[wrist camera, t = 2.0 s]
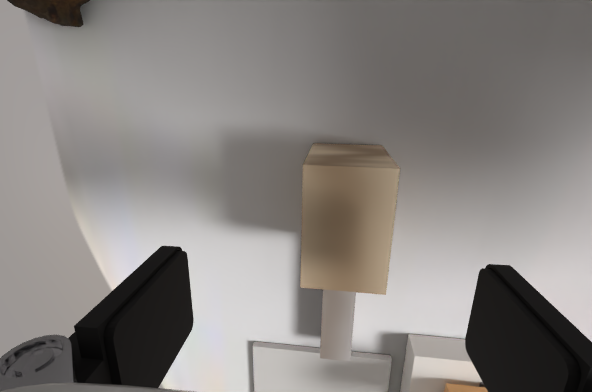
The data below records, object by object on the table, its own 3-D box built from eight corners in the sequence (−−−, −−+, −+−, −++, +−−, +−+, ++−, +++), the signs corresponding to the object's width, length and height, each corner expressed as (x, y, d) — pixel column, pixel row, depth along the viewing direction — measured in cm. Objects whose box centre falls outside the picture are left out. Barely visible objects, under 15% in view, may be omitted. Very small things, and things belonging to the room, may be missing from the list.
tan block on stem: (381, 145, 19) (400, 168, 13) (363, 341, 23) (371, 421, 18) (313, 143, 19) (302, 164, 14) (307, 335, 24) (297, 412, 18)
